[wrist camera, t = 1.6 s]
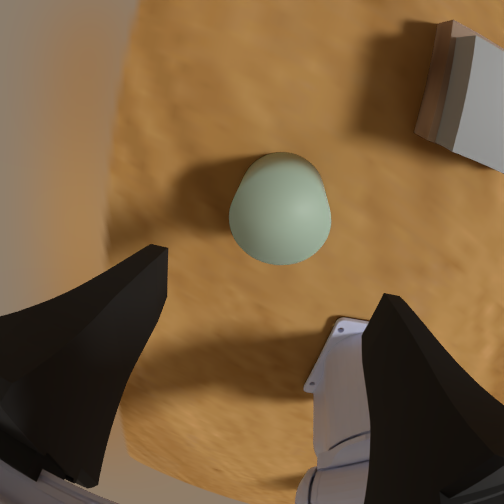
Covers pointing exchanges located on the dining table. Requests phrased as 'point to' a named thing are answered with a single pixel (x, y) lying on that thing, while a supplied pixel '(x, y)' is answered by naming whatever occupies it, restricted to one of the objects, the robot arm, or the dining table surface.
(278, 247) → the green cylinder
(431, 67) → the tower base
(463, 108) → the tower top
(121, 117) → the dining table surface
